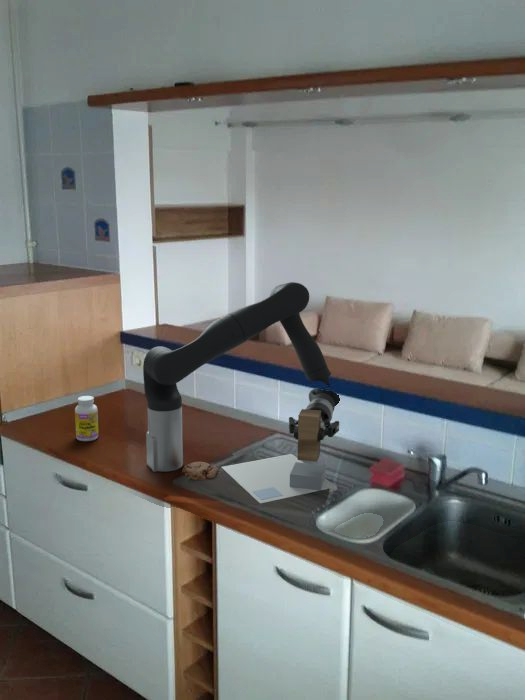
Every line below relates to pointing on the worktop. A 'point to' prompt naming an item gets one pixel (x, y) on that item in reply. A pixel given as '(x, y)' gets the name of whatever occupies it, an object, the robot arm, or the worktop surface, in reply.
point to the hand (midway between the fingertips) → (307, 437)
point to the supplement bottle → (86, 419)
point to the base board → (279, 477)
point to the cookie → (199, 471)
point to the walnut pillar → (308, 435)
